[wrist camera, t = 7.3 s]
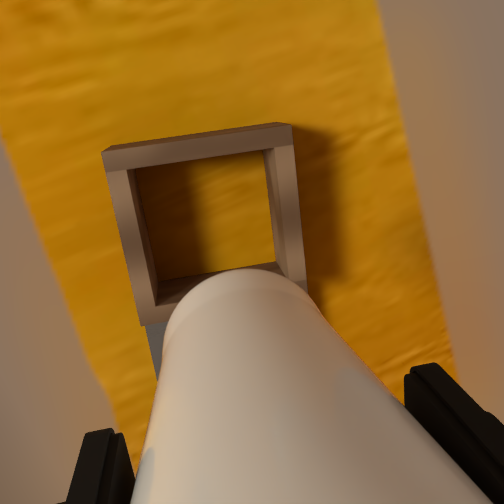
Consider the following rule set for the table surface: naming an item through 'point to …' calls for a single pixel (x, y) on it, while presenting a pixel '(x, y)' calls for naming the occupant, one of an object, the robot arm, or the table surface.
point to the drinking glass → (280, 410)
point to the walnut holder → (189, 148)
